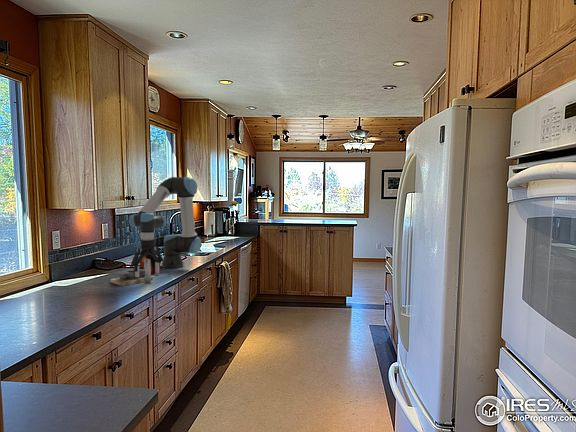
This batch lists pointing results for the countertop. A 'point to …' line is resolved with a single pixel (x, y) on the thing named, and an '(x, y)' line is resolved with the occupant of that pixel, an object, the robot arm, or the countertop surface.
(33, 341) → the countertop surface
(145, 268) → the steel pin
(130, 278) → the chain ends
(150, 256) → the mug
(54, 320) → the countertop surface
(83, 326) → the countertop surface
